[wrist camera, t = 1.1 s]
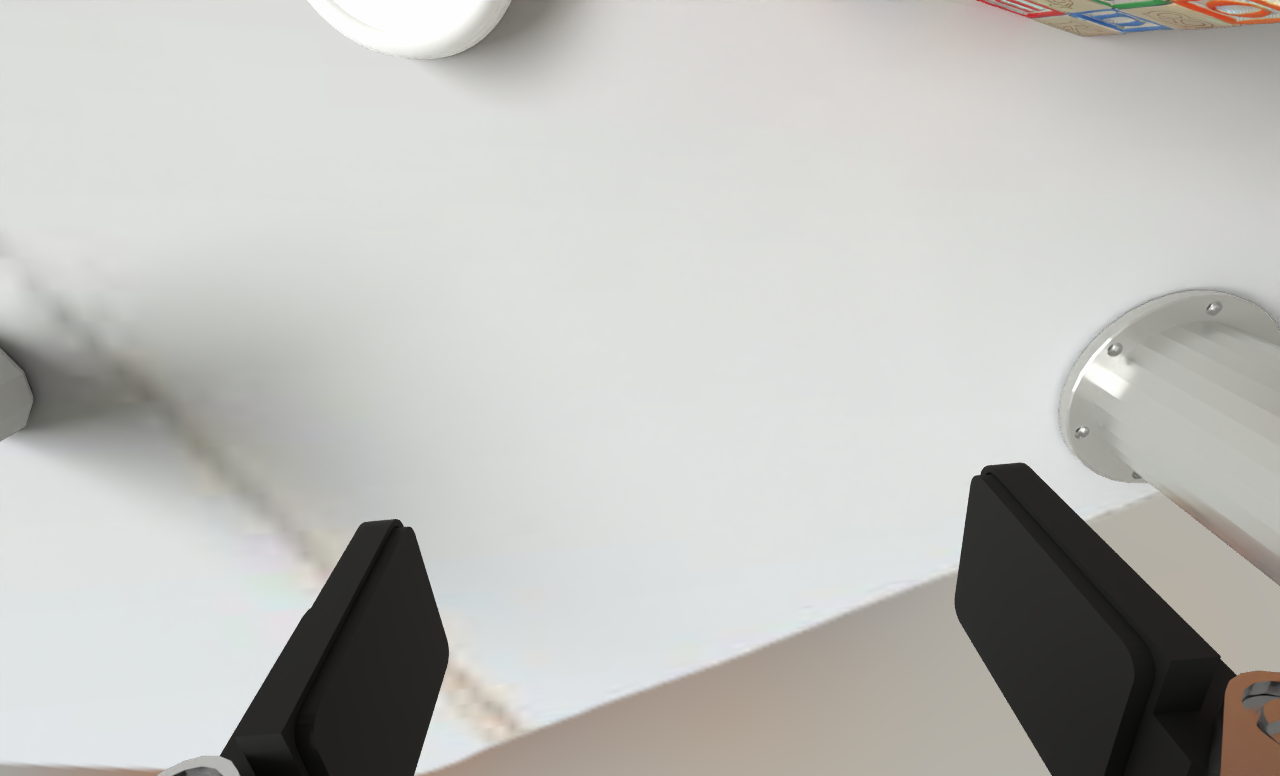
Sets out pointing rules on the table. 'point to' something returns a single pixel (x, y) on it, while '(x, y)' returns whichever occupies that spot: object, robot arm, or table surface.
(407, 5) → the coaster
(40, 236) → the table surface
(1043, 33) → the table surface
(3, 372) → the water bottle
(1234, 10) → the stack of blocks
